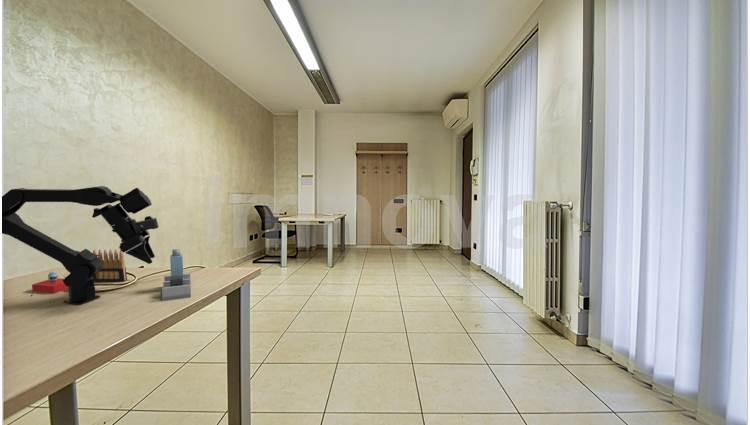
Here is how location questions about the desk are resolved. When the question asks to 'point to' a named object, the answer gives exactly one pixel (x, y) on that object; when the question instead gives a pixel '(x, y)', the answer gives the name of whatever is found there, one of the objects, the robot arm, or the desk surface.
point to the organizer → (176, 287)
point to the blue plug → (176, 263)
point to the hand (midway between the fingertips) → (152, 260)
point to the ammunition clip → (111, 267)
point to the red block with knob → (50, 285)
